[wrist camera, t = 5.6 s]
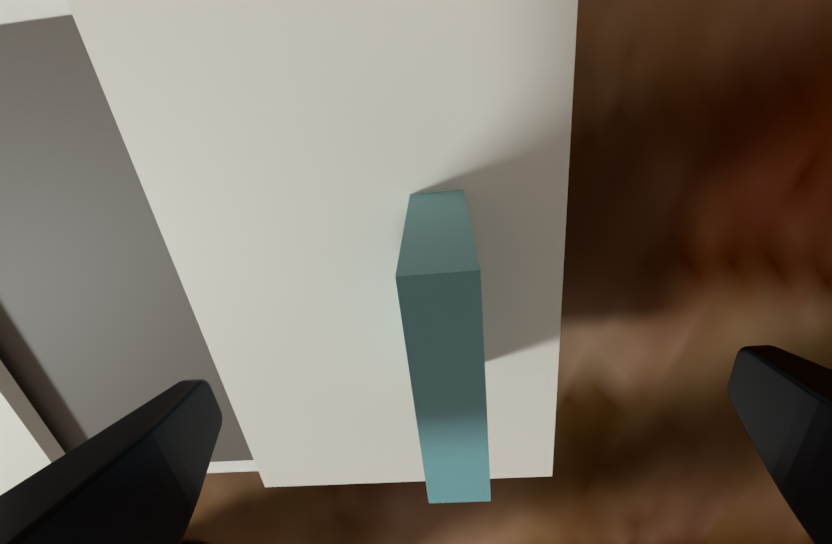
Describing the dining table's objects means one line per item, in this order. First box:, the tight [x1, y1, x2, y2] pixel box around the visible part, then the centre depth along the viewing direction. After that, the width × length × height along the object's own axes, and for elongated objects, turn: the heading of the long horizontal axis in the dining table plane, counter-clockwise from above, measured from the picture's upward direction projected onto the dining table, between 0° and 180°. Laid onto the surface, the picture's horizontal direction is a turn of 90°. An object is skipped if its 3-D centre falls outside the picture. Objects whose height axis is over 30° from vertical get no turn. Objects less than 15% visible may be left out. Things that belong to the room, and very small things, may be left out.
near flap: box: [66, 0, 578, 503], centre depth 9 cm, size 14×10×4 cm, turn 6°
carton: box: [0, 0, 258, 473], centre depth 15 cm, size 15×20×5 cm
